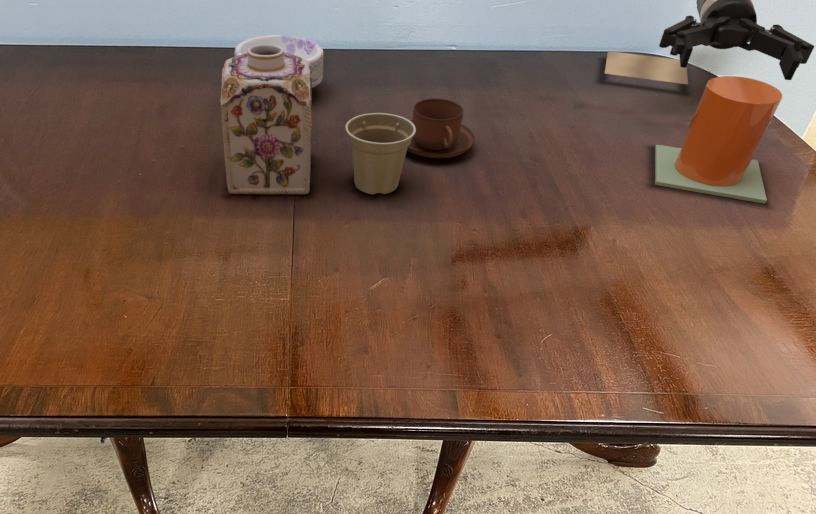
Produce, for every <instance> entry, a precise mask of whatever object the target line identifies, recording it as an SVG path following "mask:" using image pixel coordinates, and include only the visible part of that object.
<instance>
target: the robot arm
mask: <svg viewBox="0 0 816 514" xmlns="http://www.w3.org/2000/svg"><path fill="white" fill-rule="evenodd" d="M696 9H697V13H698V17H699V21H698V20H697V19H696V18H695V17H694V16H693V15H686V16H685V18H684V19H683V20H681V21H679V22H677V23H675V24H673V25H670V26H668V27H667V28H665V29H664V30H663V33H662V35H661V39H660V41H659V45H658V47H659V48H663V49H665V48H669V47H671V49H670V51H669V55H671V56H673V57H675V56H679V60H680V67H683V68H686V67H687V68H688V64H689V61H690V58H691V56H692V53H693V50H694V47H698V46H705V47H711V48H713V49H716V50H730V49H732V48H740V49H743V50H745V51H748V52H752V51H757V52H759V53H762V54H764V55H766V56H769V57H771V58H773V59H776V60H778V61H779V62H778V65H779V68H780V71H781V73H782V76H783V78H784V81H792V79H793V77H794V75H795V73H796V71H797V69H798V68H799V67H800V65H805V64H807V63H808V61H809V59H810V57H811V54H812V52H813V50H814V49H815V45H814V44H812V43H810V42H808V41H806V40H805V39H802V38H801V37H798V36H797V35H795V34H793V33H791V32H789V31H787V30H786V29H785V28H784V27H783V26H782V25H780V24H773V25H772V26H771V27H770V29H766V27H765V26H762V25H760V24H758V17H757V16H758V15H757V12H756V9H755V6H754V3H753V0H696Z"/></svg>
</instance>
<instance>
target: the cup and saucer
mask: <svg viewBox="0 0 816 514" xmlns="http://www.w3.org/2000/svg"><path fill="white" fill-rule="evenodd" d="M463 116H464V108H463V106H462V105H460V104H459V103H458V102H455V101H453V100H451V99H450V100H449V99H445V98H426V99H421V100H419V101H418V102H416V103H415V104H414V105H413V110H412V119H411V120H410V121H411V122H412V123H413V124H414V125H415V127H416V133H415V135H414V137H413V138H412V139H411V143H410V145H409V146H408V148H407V151H406V152H408V153H411V154H413V155H415V156H419V157H422V158H427V159H450V158H455V157H457V156H461V155H463V154H465V153H466V152H468V151H469V150H470V149H471V148H472V147H473V145H474V143H475V139H476V138H475V135H474V133H473V131H472V130H471V129H470V128H468V127H467V126H465V125H463V124H462V121H463Z"/></svg>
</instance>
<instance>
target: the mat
mask: <svg viewBox="0 0 816 514" xmlns="http://www.w3.org/2000/svg"><path fill="white" fill-rule="evenodd" d="M680 148H681V147H675V146H670V145H663V144H656V145H655V147H654V185H655V186H659V187H665V188H671V189H676V190H683V191H689V192H693V193H700V194H704V195H705V194H706V195H711V196H716V197H717V196H718V197H722V198H729V199H735V200H739V201H746V202H753V203H758V204H763V205H764V204H766V203H767V201H768V198H767V194H766V190H765V186H764V182H763V177H762V172H761V169H760V165H759V161H758V159H753V158H752V160H751V162H750V164H749V166H748V168H747V170H746V172H745V174H744V176H743V179H742V180H741V181H740V182H739V183H737V184H734V185H730V186H713V185H707V184H703V183H699V182H696V181H693V180H691V179H689V178H687V177H685V176H683V175H682V174H681V173H679V172H678V171H677V169H676V168H675V161H676V158H677V156H678V153H679V151H680Z"/></svg>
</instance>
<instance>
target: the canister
mask: <svg viewBox="0 0 816 514" xmlns="http://www.w3.org/2000/svg"><path fill="white" fill-rule="evenodd" d="M701 94H702V95H701V97H700V100H699V102H698V104H697V106H696V109H695V112H694V115H693V117H692V119H691V122H690V124H689V126H688V128H687V131H686V134H685V136H684V139H683V141H682V144H681V146H680V147H679V148H680V151H679V153H678V156H677V158H676V161H675V168H676V169H677V171H678V172H679V173H681V174H682V175H683V176H685V177H687V178H689V179H691V180H693V181H696V182H699V183H703V184H707V185H713V186H730V185H734V184H737V183H739V182H740V181H741V180H742V179H743V176H744V174H745V172H746V170H747V168H748V166H749V164H750V162H751V160H752V159H753V158H754V157H755V154H756V152H757V151H758V148H759V146H760V144H761V142H762V140H763V138H764V136H765V134H766V132H767V130H768V127H769V126H770V124H771V122H772V119H773V118H774V115H775V113H776V111H777V109H778V107H779V105H780V103H781V101H782V99H783V93H782V91H781V90H779V89H778V88H777V87H775V86H773V85H772V84H769V83H767V82H764V81H761V80H758V79H754V78H750V77H744V76H733V75H726V76H725V75H723V76H717V77H713V78H711V79H709V80H708V81H707V83H706V85H705V87H704V90H703V92H702V93H701Z"/></svg>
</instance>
